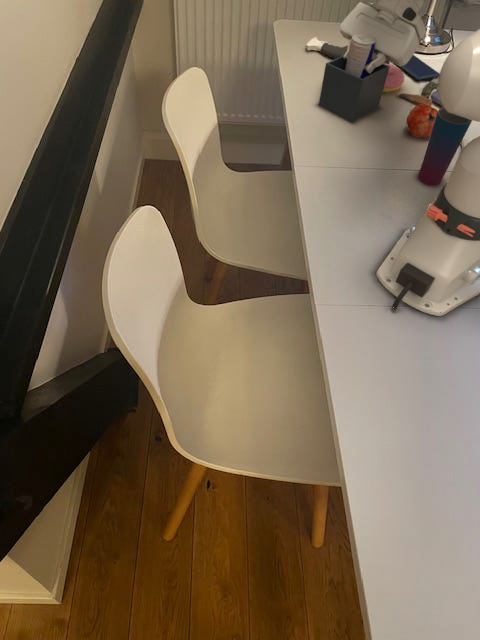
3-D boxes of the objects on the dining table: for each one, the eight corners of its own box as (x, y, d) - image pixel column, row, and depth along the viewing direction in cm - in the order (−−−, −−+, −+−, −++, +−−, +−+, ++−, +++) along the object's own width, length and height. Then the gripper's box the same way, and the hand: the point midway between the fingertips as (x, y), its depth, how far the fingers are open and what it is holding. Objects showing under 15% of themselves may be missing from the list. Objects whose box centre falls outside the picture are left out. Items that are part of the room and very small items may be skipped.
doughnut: (353, 82, 137) (356, 67, 134) (378, 71, 142) (382, 56, 139) (385, 98, 132) (389, 83, 129) (409, 86, 137) (414, 71, 134)
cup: (423, 190, 108) (449, 125, 97) (408, 171, 113) (431, 107, 101) (450, 186, 110) (479, 122, 98) (435, 167, 114) (461, 104, 102)
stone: (401, 93, 135) (396, 99, 134) (402, 88, 134) (397, 94, 133) (433, 104, 131) (428, 109, 130) (434, 98, 130) (429, 104, 129)
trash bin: (352, 123, 124) (362, 80, 116) (318, 105, 129) (325, 63, 121) (378, 108, 130) (389, 66, 121) (344, 91, 134) (353, 50, 126)
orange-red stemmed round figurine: (395, 137, 125) (413, 132, 116) (401, 106, 124) (419, 98, 114) (423, 141, 126) (443, 136, 117) (429, 110, 125) (450, 103, 115)
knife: (451, 74, 144) (441, 72, 146) (453, 70, 143) (443, 67, 145) (426, 99, 133) (415, 96, 134) (428, 94, 132) (417, 91, 133)
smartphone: (440, 76, 140) (411, 55, 149) (441, 73, 140) (412, 52, 149) (417, 80, 138) (389, 58, 148) (417, 77, 138) (389, 56, 147)
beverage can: (360, 107, 126) (375, 44, 114) (338, 104, 126) (351, 41, 115) (361, 96, 129) (376, 34, 118) (339, 93, 130) (352, 31, 118)
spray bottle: (379, 75, 141) (300, 54, 148) (392, 60, 147) (314, 41, 154) (382, 64, 138) (301, 44, 146) (394, 50, 145) (316, 31, 152)
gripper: (358, -11, 119) (321, 41, 123) (425, 19, 110) (383, 75, 113) (366, 6, 125) (331, 56, 128) (431, 36, 115) (391, 89, 119)
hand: (356, 65), depth 121 cm, fingers closed on beverage can, 5 cm apart
